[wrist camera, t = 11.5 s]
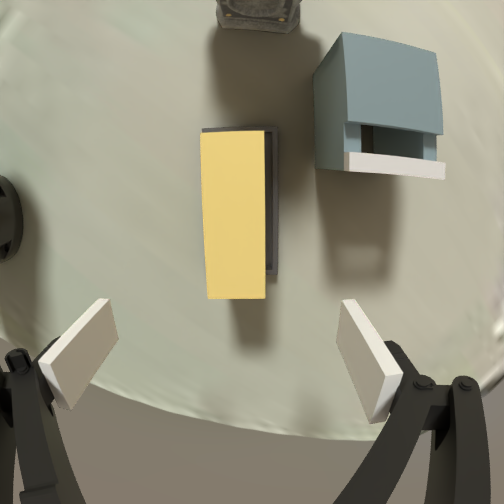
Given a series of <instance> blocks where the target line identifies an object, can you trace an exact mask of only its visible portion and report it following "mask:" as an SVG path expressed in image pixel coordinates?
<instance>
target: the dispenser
mask: <svg viewBox="0 0 504 504" xmlns="http://www.w3.org/2000/svg"><path fill="white" fill-rule="evenodd" d="M313 92H314V129H315V168H316V169H330V170H341V171H354V172H370V173H383V174H395V175H406V176H416V177H425V178H434V179H442V180H445V163H443V162H437V161H436V154H437V150H436V136H437V135H443V115H442V101H441V90H440V80H439V72H438V65H437V58H436V53H434V52H431V51H427V50H424V49H420V48H417V47H413V46H410V45H406V44H402V43H398V42H394V41H389V40H385V39H380V38H375V37H370V36H365V35H359V34H353V33H346V32H342V33H341V34H340V36H339V37H338V38H337V40H336V41H335V43H334V44H333V46H332V47H331V49H330V50H329V52H328V53H327V55H326V56H325V58H324V59H323V61H322V62H321V64H320V65H319V67H318V68H317V70H316V71H315V73H314V74H313ZM361 124H363V125H372V126H373V154H370V153H361Z"/></svg>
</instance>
